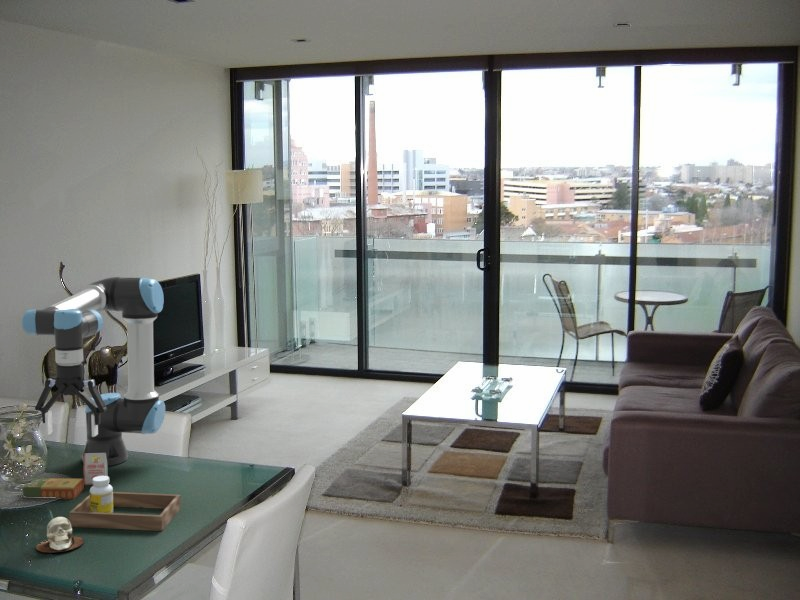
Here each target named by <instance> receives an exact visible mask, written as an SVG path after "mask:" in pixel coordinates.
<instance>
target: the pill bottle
mask: <svg viewBox="0 0 800 600" xmlns="http://www.w3.org/2000/svg"><path fill="white" fill-rule="evenodd" d="M109 483H110V476H97V477H94V478H93V484H94V485H91V487H90V489H89V495H90V512H99V513H114V506H113V492H114V489H113V488H114V487H113V486H112V485H111V484H109Z"/></svg>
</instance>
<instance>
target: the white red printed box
mask: <svg viewBox="0 0 800 600" xmlns="http://www.w3.org/2000/svg"><path fill="white" fill-rule="evenodd" d="M108 467H109V466H107V458H106V453H84V463H83V468H82V469H83V481H84V486H94V484H93V478H94V477H97V476H108V474H109V473H108ZM108 477H109V476H108Z"/></svg>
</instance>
